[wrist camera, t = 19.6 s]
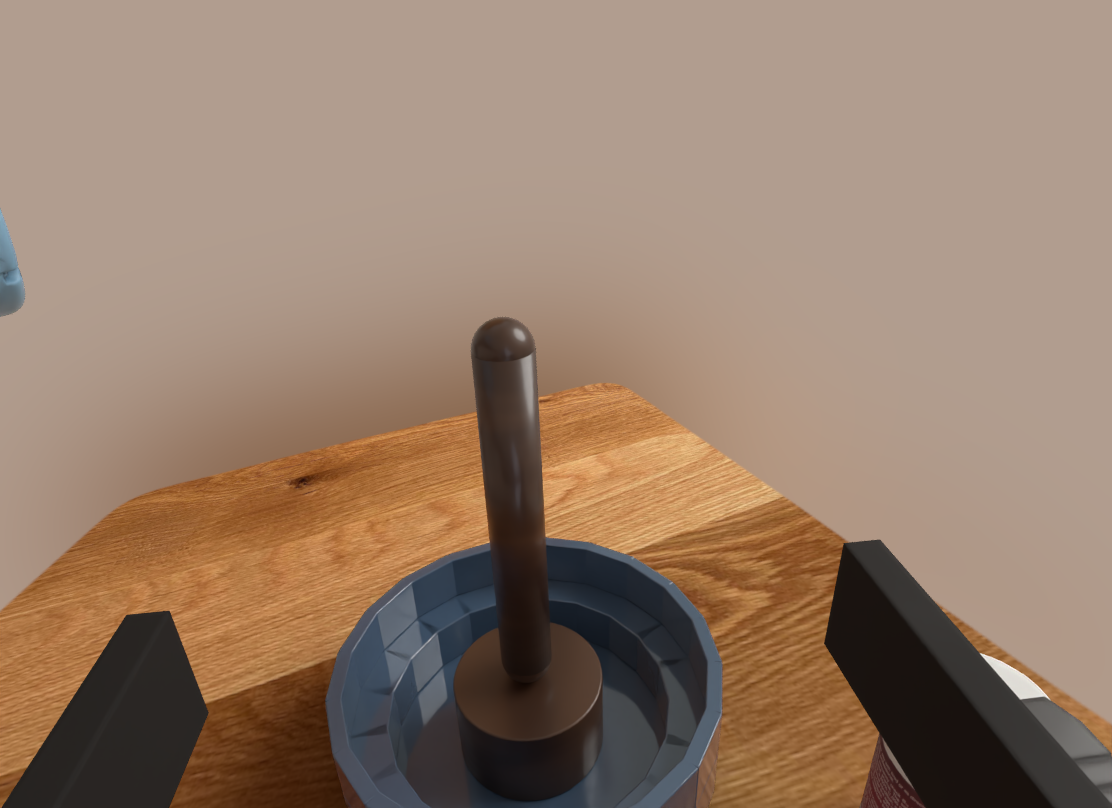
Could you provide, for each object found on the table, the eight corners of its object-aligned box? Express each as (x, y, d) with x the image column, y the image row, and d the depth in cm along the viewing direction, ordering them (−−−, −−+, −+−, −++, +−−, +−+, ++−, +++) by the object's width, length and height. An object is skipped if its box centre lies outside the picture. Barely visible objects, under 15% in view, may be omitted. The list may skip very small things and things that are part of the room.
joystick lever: (440, 785, 26) (364, 349, 18) (487, 667, 32) (444, 287, 24) (589, 816, 25) (579, 361, 17) (612, 687, 30) (613, 292, 22)
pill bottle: (917, 961, 21) (981, 792, 17) (826, 817, 25) (862, 656, 22) (1039, 915, 22) (1124, 746, 18) (932, 784, 26) (984, 625, 23)
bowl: (271, 891, 24) (237, 802, 22) (434, 597, 37) (423, 523, 35) (709, 1001, 20) (721, 910, 18) (715, 635, 34) (723, 556, 32)
